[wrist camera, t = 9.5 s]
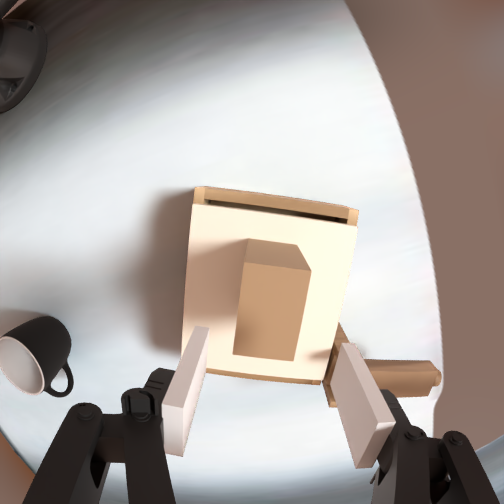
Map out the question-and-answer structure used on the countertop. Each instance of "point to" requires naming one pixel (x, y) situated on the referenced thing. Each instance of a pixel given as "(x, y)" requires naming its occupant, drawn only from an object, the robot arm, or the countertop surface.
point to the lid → (266, 289)
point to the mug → (36, 356)
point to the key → (404, 376)
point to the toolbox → (294, 209)
